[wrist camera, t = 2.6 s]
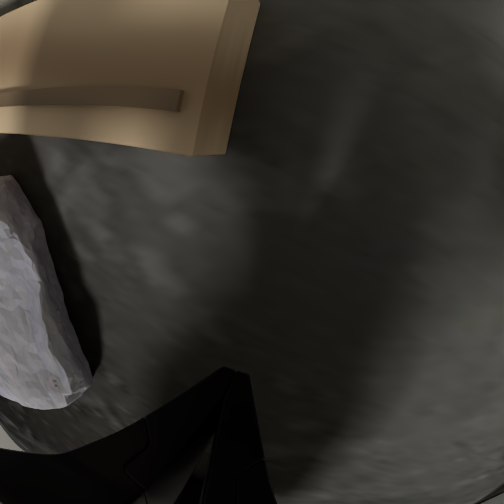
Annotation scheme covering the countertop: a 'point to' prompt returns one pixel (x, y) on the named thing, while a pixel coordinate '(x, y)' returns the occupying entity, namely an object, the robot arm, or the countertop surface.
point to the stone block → (34, 313)
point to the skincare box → (495, 500)
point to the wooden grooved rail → (126, 71)
